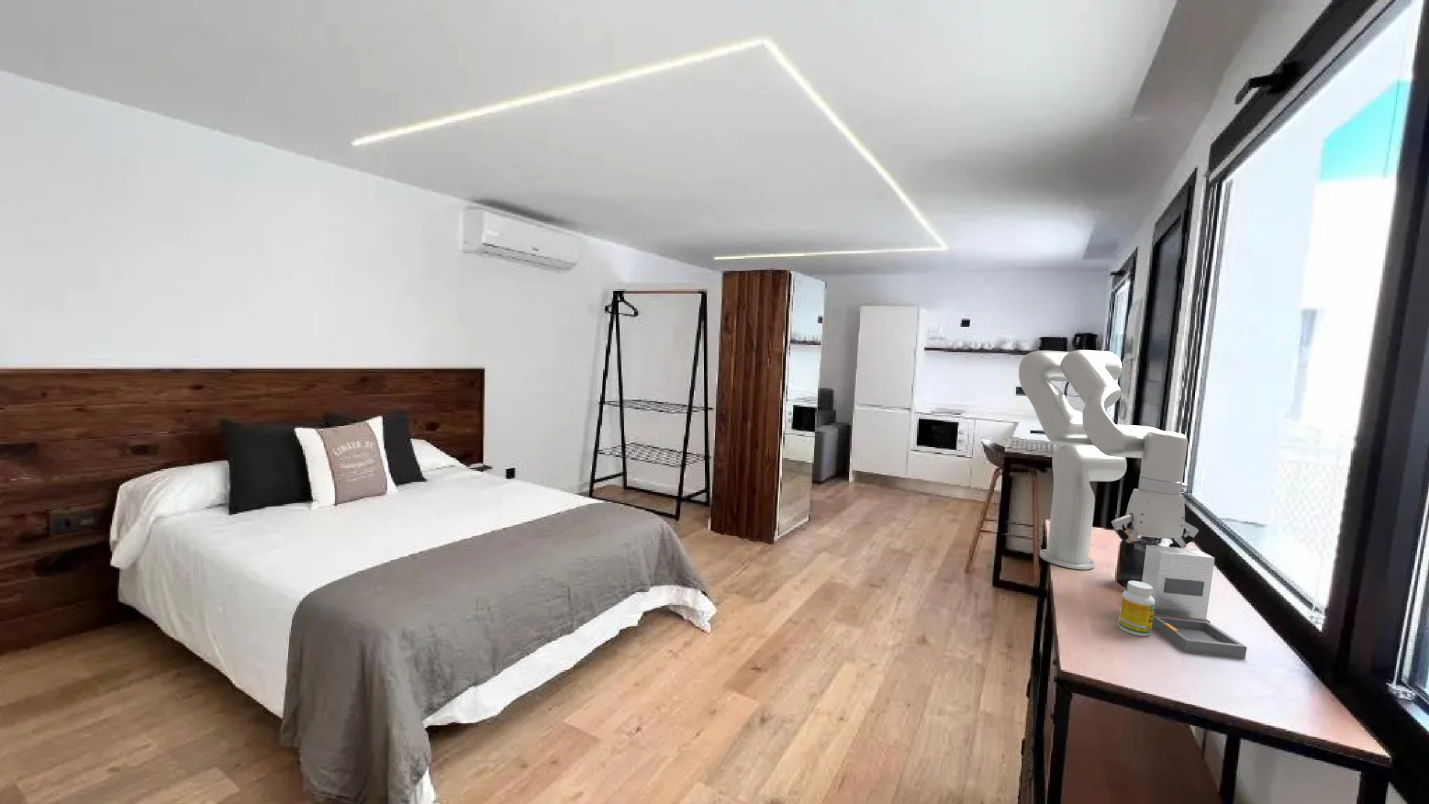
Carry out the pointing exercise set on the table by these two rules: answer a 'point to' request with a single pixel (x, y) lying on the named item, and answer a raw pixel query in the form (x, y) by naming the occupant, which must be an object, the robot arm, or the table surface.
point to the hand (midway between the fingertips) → (1149, 560)
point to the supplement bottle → (1137, 609)
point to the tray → (1198, 637)
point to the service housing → (1179, 581)
